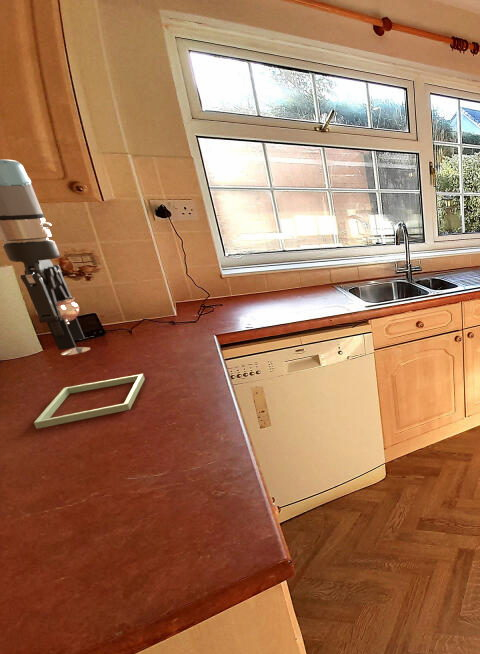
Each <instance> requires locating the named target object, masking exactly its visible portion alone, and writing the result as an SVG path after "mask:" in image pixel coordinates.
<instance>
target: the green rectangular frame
mask: <svg viewBox="0 0 480 654" xmlns="http://www.w3.org/2000/svg"><path fill="white" fill-rule="evenodd" d="M145 380H146V378H145V376H144V373H140V374H135V375H129V376H123V377H118V378H111V379H107V380H101V381H100V380H99V381H94V382H89V383H82V384H78V385H77V384H76V385H73V386H67V387H63V388H62V390H60V392H59V393H58V394H57V395H56V397H54V398H53V399H52V401H51V402H50V403H49V404H48V405H47V406H46V408H45V409H44V410H43V411H42V413H40V415H39V416H38V417H37V418H36V419H35V421H34V422H33V424H34V427H35V429H37V430H38V429H42V428H47V427H52V426H57V425H61V424H67V423H72V422H75V421H81V420H86V419H90V418H91V419H92V418H96V417H100V416H106V415H111V414H114V413H119V412H125V411H130V410H131V408H132V406H133V404H134V402H135V400H136V398H137V396H138V394H139V392H140V389H141V388H142V386H143V383H144V382H145ZM129 383H134V384H133V385H132V387H131V389H130V391H129V393H128V394H127V397H126V398H125V400H124V402H123V403H119V404H115V405H109V406H104V407H100V408H99V407H98V408H95V409H90V410H84V411H80V412H75V413H69V414H64V415H59V416H54V417H52V416H53V414H54V413H55V412H56V411H57V410H58V408H60V406H61V405H62V404H63V402H64V401H65V400H66V399H67V397H69V395H70V394H75V393H81V392H85V391H91V390H92V391H93V390H98V389H103V388H108V387H114V386H118V385H119V386H120V385H125V384H129Z"/></svg>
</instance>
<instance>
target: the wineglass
mask: <svg viewBox="0 0 480 654" xmlns="http://www.w3.org/2000/svg"><path fill="white" fill-rule="evenodd" d="M75 300H76V297H75V296H72V297H66V300H63V301H57V304H58V307H59V310H60V314H61V317H62V319H65V321H66V323H67V326H68V324H69V322H70V321H72V320H73V319H75V318H78V315H79V314H80V311H81V310H80V309H81V308H80V306H79V304H78V303H76V302H75ZM35 313H36V315H37V316H38V314H37V312H36V311H35ZM90 350H91V347H87V346H82V347H81V346H79V347H77V346H76V348H70V349H66V350H64V351H63V352H61V353H60V355H61V356H72V355H78V354H82V353H86V352H87V351H90Z"/></svg>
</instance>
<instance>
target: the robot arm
mask: <svg viewBox="0 0 480 654" xmlns="http://www.w3.org/2000/svg"><path fill="white" fill-rule="evenodd" d="M51 227H52V224H51V223H50V222H47V220H46V218H45V216H44V212H43V211H42V207H41V205H40V203H39V200H38V197H37V195H36V193H35V189H34V187H33V184H32V180H31V178H30V177H29V175H28V173H27V172H26V170H25V168H24V165H23V164H22V163H21V162H19V161H17V160H15V159H14V160H13V159H0V241H2V242H4V243H3V244H2V248H3V249H4V252H5V254H6V256H7V258H8V260H9V262H14V263H22V264H23V266H24V271H23V272H24V274H20V280H21V281H22V283H23V284H24V286H25V288H26V290H27V293H28V295H29V297H30V299H31V302H32V305H33V308H34V309H35V313H36V312H37V313H36V315H37V314H38V315H37V317H38V321H39V323H40V324H44V323H46V325H47V326H48V329H49V331H50V334H51V336H52V338H53V340H54V342H55V345H56V347H57V349H58V351H62V350H63V351H64V350H69V349H72V348H76V347H77V345H76V343H75V341H80V340H85V339H86V336H85V334H84V332H83V330H82V327H81V324H80V323H79V320H78V317H76V318H75V319H73V320H72V321H70V322H69V324H68V326H67V323H66V321H65V319H62V317H61V314H60V310H59V307H58V304H57V301H63V300H66V297H73V296H72V294H71V292H70V289H69V287H68V284H67V282H66V280H65V278H64V276H63V273H62V269H61V266H60V265H59V264H54V263H53V262H52V261H51V260H54V259H58V258H59V257H61V254H60V251H59V249H58V246H57V243H56V242H55V240H53V239H51V237H52V232H51V230H50V228H51Z"/></svg>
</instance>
